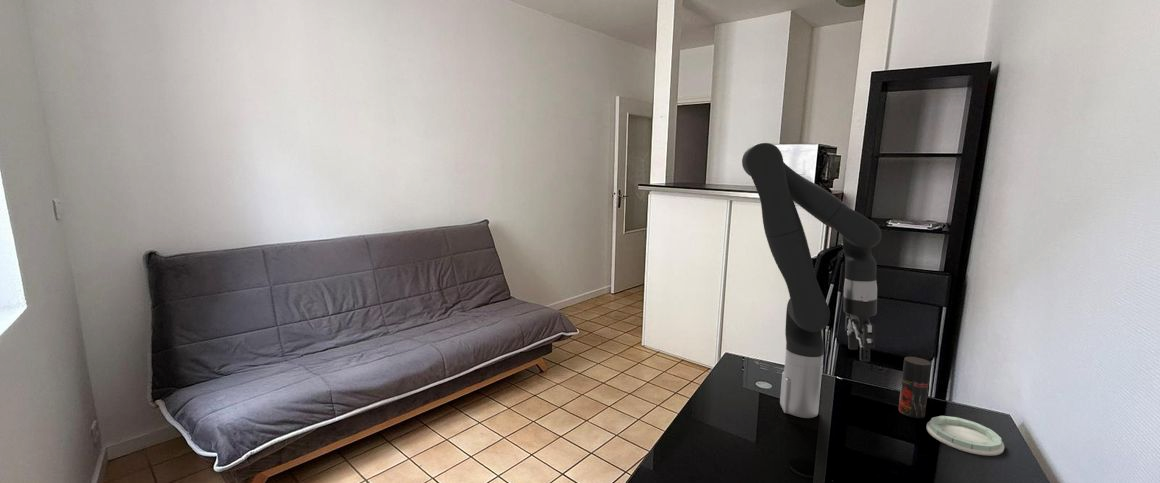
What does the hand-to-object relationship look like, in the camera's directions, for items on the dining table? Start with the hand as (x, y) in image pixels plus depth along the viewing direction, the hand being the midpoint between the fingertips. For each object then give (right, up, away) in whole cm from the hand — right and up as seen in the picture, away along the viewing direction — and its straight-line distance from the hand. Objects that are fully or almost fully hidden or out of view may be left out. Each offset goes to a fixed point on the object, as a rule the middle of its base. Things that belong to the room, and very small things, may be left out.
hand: (858, 355), depth 124 cm
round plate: (+22, -19, -8) cm, 30 cm away
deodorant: (+17, -17, +5) cm, 25 cm away
